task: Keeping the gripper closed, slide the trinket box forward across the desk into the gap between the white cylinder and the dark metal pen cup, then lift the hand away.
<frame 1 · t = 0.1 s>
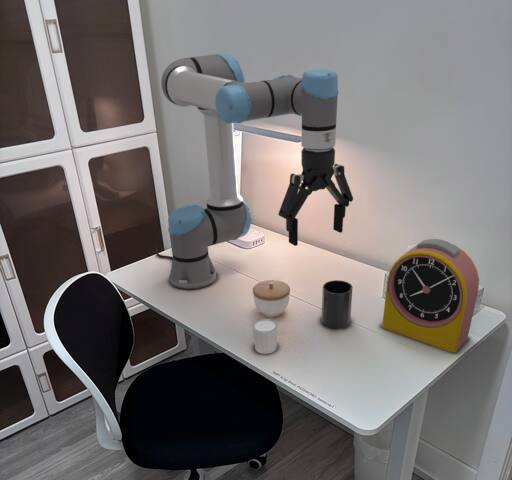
hand: (315, 237, 129), 28 cm above the table, tool pointing down, fingers open, 13 cm apart
alarm clock: (423, 332, 143), on the table
pen cup: (335, 321, 149), on the table
trinket box: (271, 312, 155), on the table
white cylinder: (265, 348, 139), on the table
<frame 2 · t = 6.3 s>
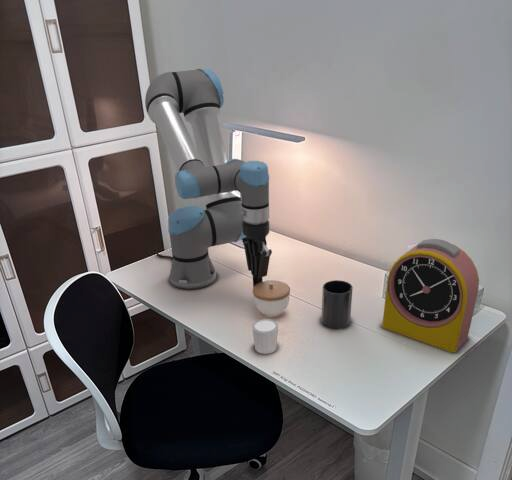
hand: (258, 294, 159), 2 cm above the table, tool pointing down, fingers closed
trinket box: (271, 312, 155), on the table, touching gripper
everything else where it was.
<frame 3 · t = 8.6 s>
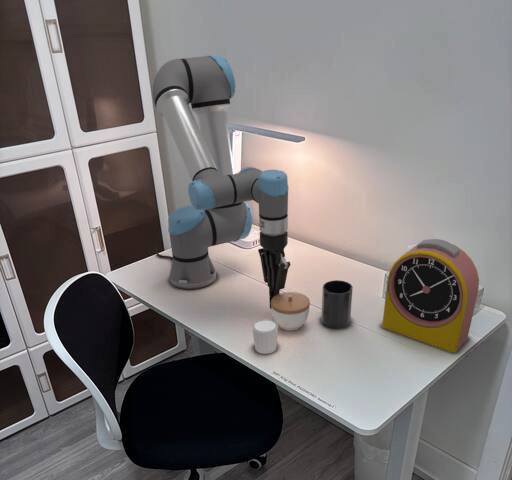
hand: (274, 307, 153), 2 cm above the table, tool pointing down, fingers closed
trinket box: (290, 325, 148), on the table, touching gripper
everything else where it was.
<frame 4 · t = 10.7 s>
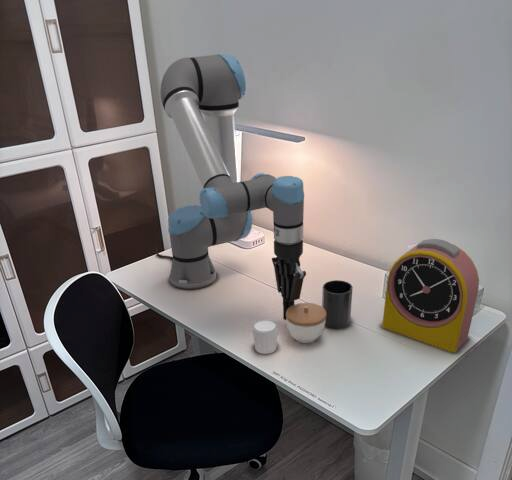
hand: (288, 318, 147), 2 cm above the table, tool pointing down, fingers closed
trinket box: (305, 337, 143), on the table, touching gripper
everything else where it was.
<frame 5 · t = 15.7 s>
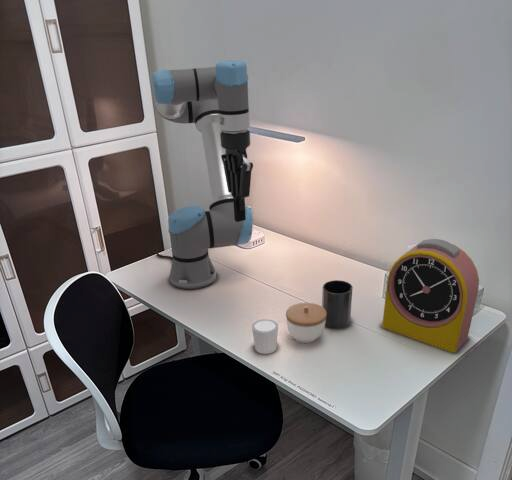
hand: (240, 220, 145), 26 cm above the table, tool pointing down, fingers closed
trinket box: (305, 337, 143), on the table
everything else where it was.
at the end: trinket box inside the target area (1.0 cm from its centre), on the table; trinket box tilted 0°; white cylinder moved 0.2 cm from its start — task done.
